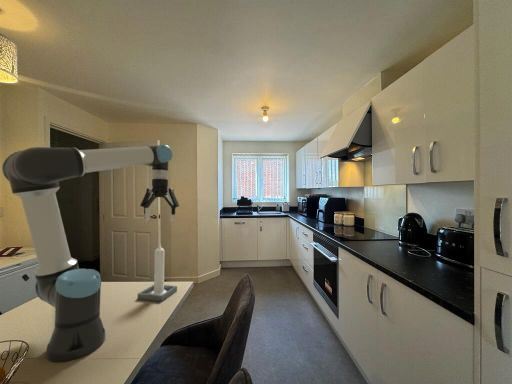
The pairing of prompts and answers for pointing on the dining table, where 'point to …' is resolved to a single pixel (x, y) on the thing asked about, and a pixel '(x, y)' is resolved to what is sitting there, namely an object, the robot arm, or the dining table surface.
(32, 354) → the dining table surface
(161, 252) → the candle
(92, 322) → the robot arm
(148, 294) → the tray
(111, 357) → the dining table surface
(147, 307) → the dining table surface
